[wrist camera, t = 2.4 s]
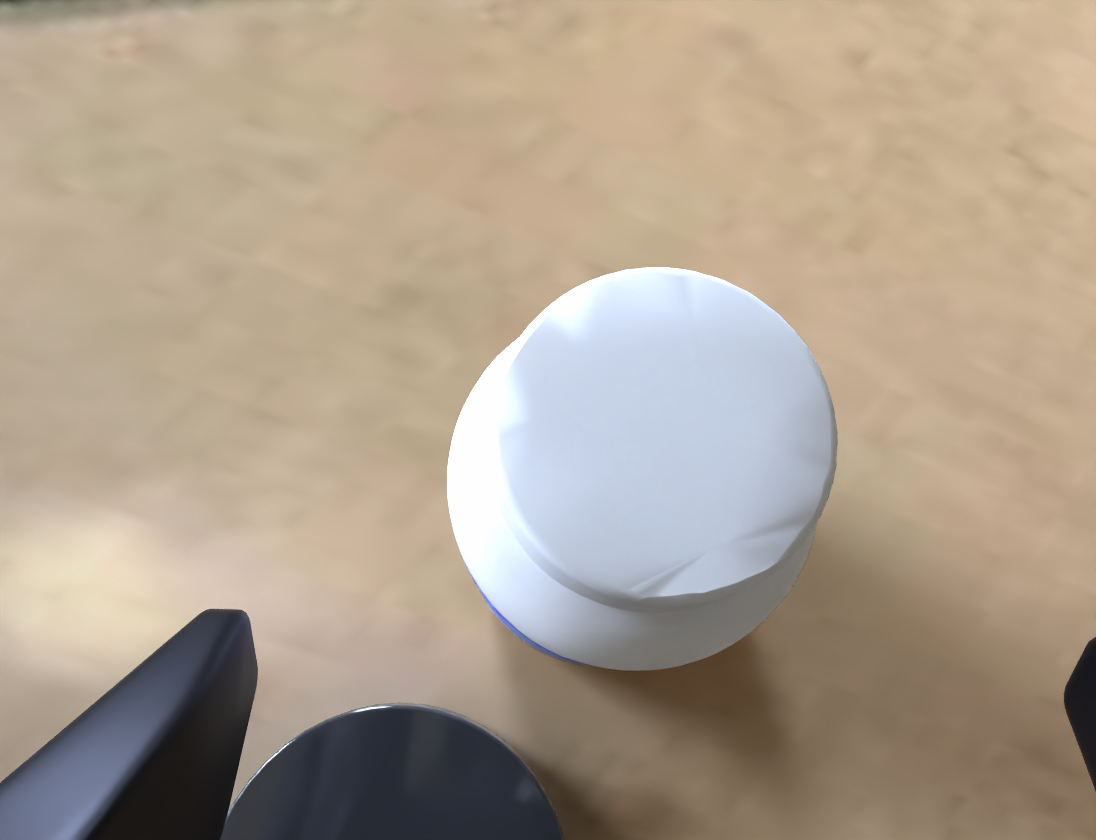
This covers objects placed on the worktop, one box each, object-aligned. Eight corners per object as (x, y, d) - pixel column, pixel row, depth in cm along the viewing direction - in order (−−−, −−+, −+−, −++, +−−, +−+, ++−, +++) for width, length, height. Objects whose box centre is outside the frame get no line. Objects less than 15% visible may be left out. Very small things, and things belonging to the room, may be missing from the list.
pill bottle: (674, 698, 18) (850, 760, 9) (432, 616, 19) (353, 590, 9) (741, 459, 20) (954, 293, 10) (515, 384, 20) (519, 154, 10)
